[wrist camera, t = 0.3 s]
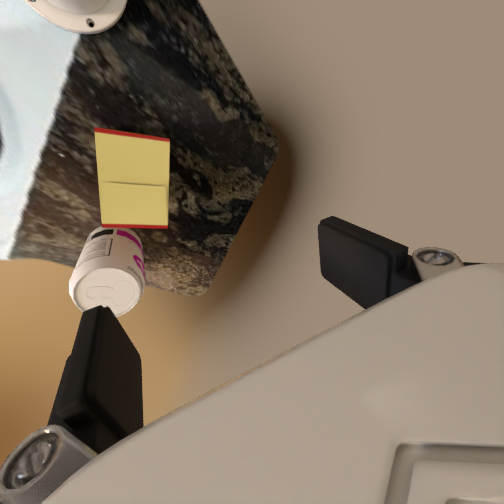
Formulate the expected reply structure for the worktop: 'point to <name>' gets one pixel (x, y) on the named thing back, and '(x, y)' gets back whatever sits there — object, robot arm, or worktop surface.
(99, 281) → the supplement can
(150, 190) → the baking soda box
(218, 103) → the worktop surface
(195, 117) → the worktop surface
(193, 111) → the worktop surface
